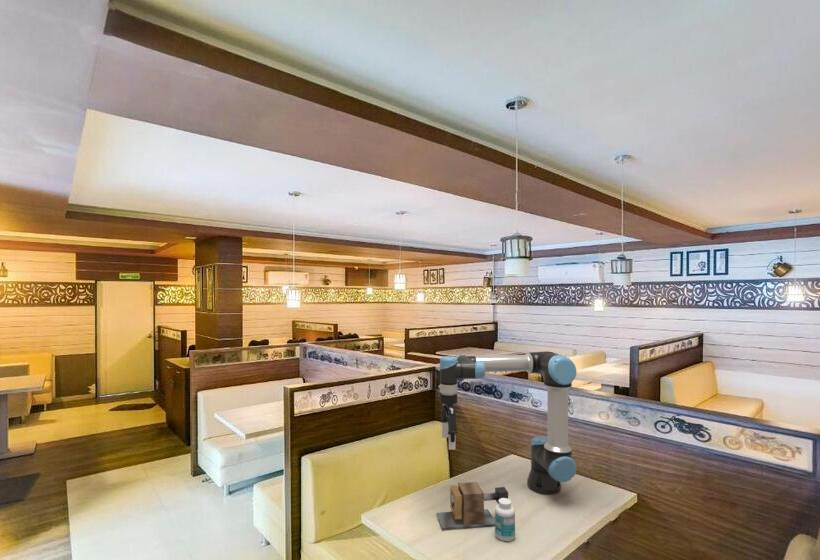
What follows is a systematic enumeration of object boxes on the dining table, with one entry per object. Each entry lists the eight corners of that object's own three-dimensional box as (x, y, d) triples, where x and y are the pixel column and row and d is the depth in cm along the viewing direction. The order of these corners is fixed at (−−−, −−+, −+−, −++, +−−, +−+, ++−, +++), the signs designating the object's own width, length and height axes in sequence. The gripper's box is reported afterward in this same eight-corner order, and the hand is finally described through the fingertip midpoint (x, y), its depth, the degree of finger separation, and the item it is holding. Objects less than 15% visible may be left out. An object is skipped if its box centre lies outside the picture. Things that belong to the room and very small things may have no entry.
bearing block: (488, 511, 176) (487, 480, 176) (496, 526, 165) (496, 493, 165) (436, 515, 173) (436, 483, 174) (442, 530, 162) (442, 496, 163)
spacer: (456, 506, 173) (456, 485, 174) (461, 518, 165) (461, 495, 165) (450, 507, 173) (450, 485, 173) (455, 519, 164) (455, 496, 164)
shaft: (504, 499, 174) (504, 486, 174) (508, 504, 169) (508, 492, 169) (450, 502, 171) (450, 490, 171) (452, 508, 166) (452, 495, 167)
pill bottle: (492, 531, 162) (492, 496, 162) (511, 530, 163) (511, 495, 163) (498, 543, 155) (498, 506, 155) (517, 542, 155) (517, 505, 155)
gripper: (434, 386, 191) (434, 433, 190) (446, 401, 166) (446, 455, 166) (450, 386, 192) (450, 432, 191) (464, 400, 167) (464, 454, 167)
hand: (448, 443), depth 179 cm, fingers open, 13 cm apart
